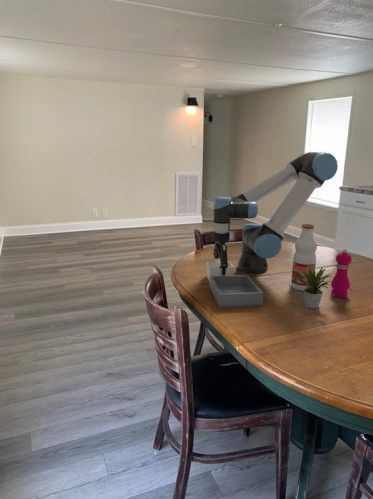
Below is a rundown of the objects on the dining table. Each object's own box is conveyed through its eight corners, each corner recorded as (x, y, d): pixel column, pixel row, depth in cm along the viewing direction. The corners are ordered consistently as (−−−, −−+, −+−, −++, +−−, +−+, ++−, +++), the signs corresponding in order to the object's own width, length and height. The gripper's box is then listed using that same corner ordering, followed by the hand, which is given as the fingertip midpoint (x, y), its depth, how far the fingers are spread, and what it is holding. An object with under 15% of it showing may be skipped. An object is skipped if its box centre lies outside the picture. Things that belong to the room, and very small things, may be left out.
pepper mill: (340, 299, 152) (346, 252, 147) (326, 293, 159) (331, 247, 153) (352, 296, 156) (358, 250, 150) (338, 290, 162) (343, 246, 157)
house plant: (326, 318, 135) (331, 275, 131) (288, 309, 142) (292, 268, 138) (334, 305, 147) (339, 265, 143) (299, 297, 154) (303, 259, 150)
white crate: (229, 275, 179) (229, 261, 177) (233, 281, 171) (233, 267, 169) (206, 276, 178) (206, 262, 176) (209, 282, 170) (210, 267, 168)
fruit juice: (315, 291, 161) (323, 227, 153) (294, 291, 161) (299, 227, 153) (309, 283, 170) (315, 223, 162) (288, 283, 170) (293, 222, 162)
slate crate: (247, 286, 165) (247, 274, 164) (262, 306, 145) (263, 292, 144) (209, 288, 163) (209, 276, 162) (219, 308, 143) (219, 294, 142)
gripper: (208, 226, 180) (206, 268, 186) (219, 238, 156) (217, 286, 162) (223, 225, 181) (221, 267, 186) (236, 238, 157) (234, 285, 163)
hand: (219, 276), depth 174 cm, fingers open, 13 cm apart
